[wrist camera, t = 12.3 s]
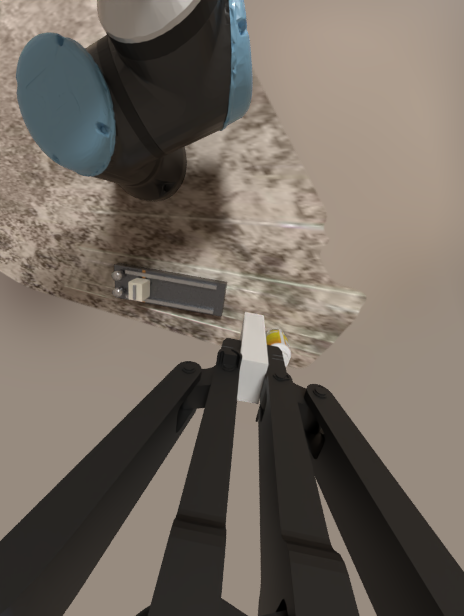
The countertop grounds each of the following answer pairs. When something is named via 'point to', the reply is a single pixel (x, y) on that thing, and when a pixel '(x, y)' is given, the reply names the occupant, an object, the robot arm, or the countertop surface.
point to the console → (173, 289)
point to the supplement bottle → (279, 343)
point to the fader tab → (139, 289)
